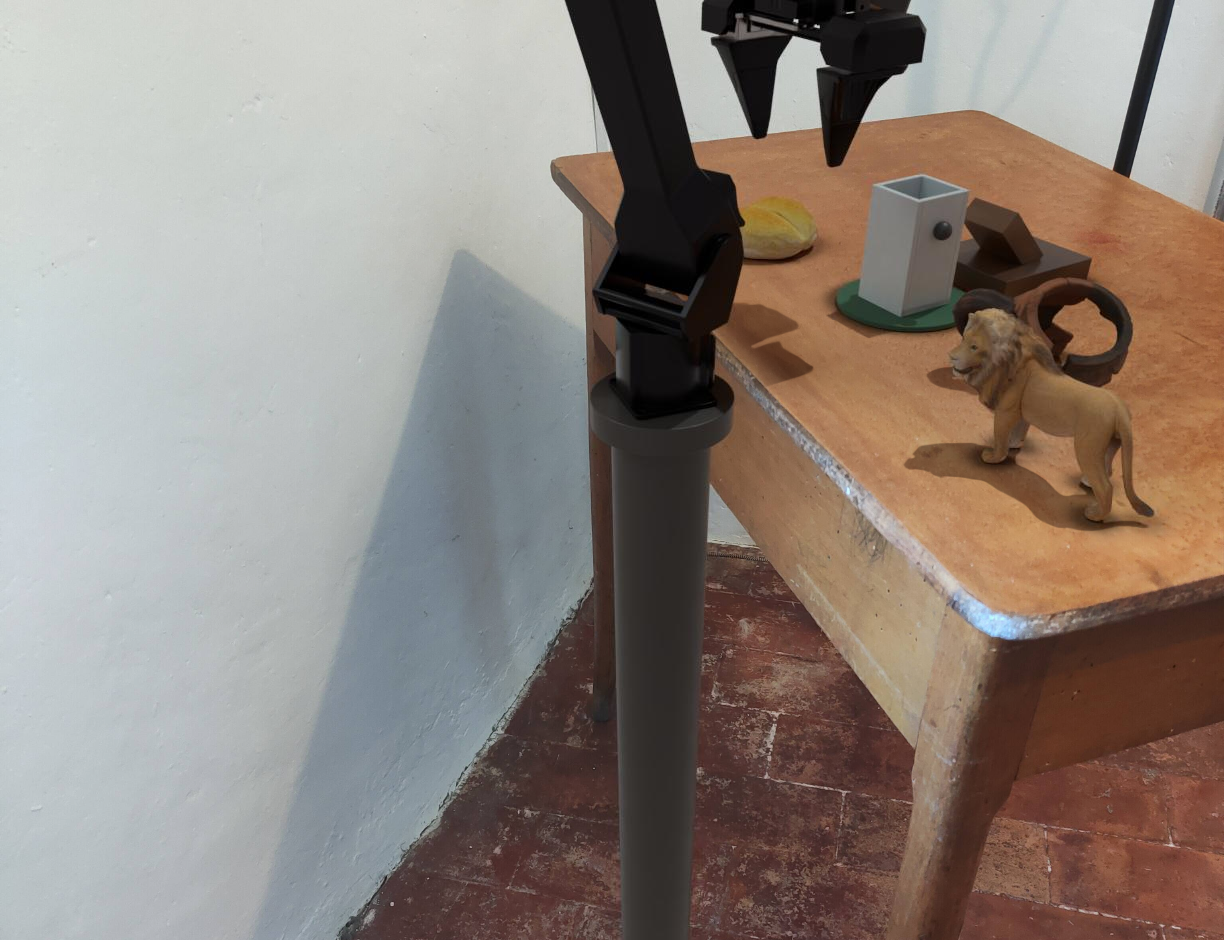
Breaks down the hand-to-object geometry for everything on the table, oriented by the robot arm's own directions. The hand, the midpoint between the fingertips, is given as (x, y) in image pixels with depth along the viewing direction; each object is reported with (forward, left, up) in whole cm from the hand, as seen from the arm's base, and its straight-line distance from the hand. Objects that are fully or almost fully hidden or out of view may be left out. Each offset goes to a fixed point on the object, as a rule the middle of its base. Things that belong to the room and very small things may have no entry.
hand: (795, 151), depth 81 cm
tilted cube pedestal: (+20, -2, -12) cm, 24 cm away
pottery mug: (+10, -19, -12) cm, 25 cm away
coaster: (+9, -4, -12) cm, 16 cm away
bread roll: (+5, +13, -12) cm, 18 cm away
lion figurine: (+2, -30, -12) cm, 32 cm away
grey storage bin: (+6, -5, -11) cm, 13 cm away
